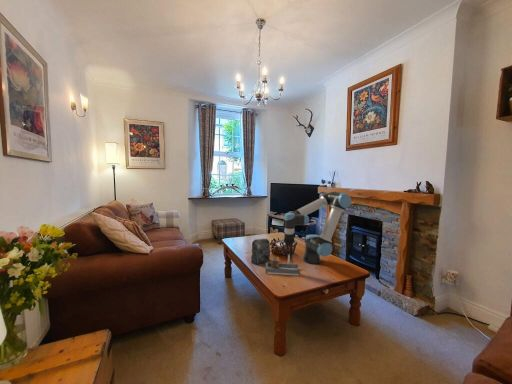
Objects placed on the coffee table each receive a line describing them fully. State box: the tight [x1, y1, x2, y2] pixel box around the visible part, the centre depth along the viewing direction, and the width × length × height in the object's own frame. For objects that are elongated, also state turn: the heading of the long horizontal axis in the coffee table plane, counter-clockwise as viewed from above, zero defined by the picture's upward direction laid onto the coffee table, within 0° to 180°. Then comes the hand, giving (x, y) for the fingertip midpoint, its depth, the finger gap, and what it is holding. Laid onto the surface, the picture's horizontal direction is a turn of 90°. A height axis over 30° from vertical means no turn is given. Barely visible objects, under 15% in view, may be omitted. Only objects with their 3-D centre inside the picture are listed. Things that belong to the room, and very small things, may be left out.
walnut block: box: [270, 256, 280, 268], centre depth 177 cm, size 6×8×8 cm
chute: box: [265, 261, 300, 276], centre depth 176 cm, size 26×12×4 cm, turn 85°
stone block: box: [250, 238, 271, 265], centre depth 193 cm, size 18×9×20 cm, turn 124°
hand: (288, 262), depth 176 cm, fingers closed
